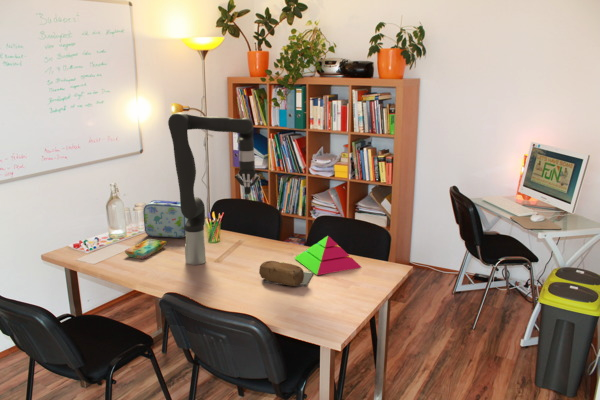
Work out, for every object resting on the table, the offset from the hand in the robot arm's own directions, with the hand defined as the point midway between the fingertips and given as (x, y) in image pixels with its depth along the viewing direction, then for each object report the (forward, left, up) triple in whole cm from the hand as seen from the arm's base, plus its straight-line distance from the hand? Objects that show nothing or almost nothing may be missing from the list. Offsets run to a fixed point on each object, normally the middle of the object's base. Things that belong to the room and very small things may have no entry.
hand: (248, 194), depth 262 cm
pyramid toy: (+39, +5, -35) cm, 53 cm away
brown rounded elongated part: (+13, -18, -31) cm, 38 cm away
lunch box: (-59, +27, -35) cm, 74 cm away
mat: (+25, -17, -35) cm, 46 cm away
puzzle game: (-58, -1, -36) cm, 68 cm away
